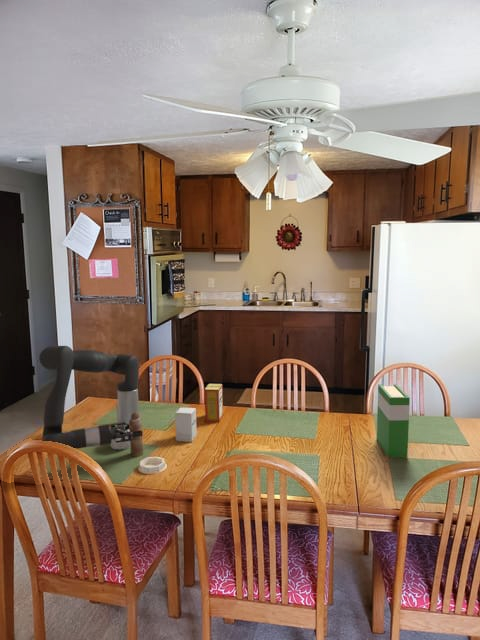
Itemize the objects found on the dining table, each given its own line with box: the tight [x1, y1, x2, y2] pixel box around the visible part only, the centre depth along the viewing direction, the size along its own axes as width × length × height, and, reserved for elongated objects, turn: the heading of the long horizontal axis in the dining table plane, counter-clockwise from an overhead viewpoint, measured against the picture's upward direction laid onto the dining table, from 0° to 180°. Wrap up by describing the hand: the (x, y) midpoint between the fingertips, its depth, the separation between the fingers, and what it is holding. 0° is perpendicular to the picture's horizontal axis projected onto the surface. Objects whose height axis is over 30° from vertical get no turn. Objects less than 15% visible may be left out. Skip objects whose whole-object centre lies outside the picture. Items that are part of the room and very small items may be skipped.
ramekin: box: [109, 430, 131, 451], centre depth 208 cm, size 11×11×5 cm
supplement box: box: [174, 407, 198, 443], centre depth 214 cm, size 7×7×13 cm
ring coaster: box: [138, 456, 168, 475], centre depth 185 cm, size 10×10×3 cm
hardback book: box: [376, 383, 411, 458], centre depth 199 cm, size 18×7×24 cm, turn 179°
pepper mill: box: [129, 412, 144, 458], centre depth 196 cm, size 5×5×18 cm
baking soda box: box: [204, 383, 224, 423], centre depth 237 cm, size 10×6×16 cm
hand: (140, 429), depth 196 cm, fingers open, 8 cm apart
